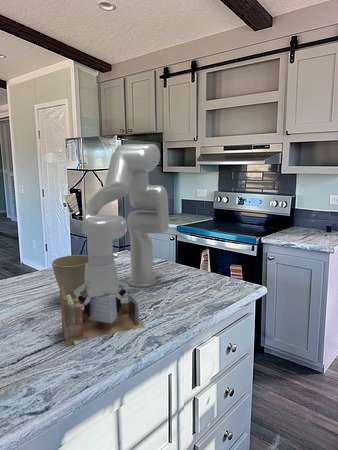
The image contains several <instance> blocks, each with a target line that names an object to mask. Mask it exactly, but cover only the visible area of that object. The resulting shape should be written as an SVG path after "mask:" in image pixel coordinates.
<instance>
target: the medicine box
mask: <svg viewBox="0 0 338 450" xmlns="http://www.w3.org/2000/svg"><path fill="white" fill-rule="evenodd" d="M89 305H90V317H89V320H92V321H99V322H105V323H112V322H113V321H114V320H115V319H116V318H117V302H116V294H111V295H105V296H99V297H92V298H91V299H90V301H89Z"/></svg>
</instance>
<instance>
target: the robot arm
mask: <svg viewBox="0 0 338 450" xmlns="http://www.w3.org/2000/svg"><path fill="white" fill-rule="evenodd" d="M160 159H161V152H160V149H159V147H158V145H156V144H154V143H146V144H145V143H140V144H139V143H138V144H137V143H130V144H129V143H128V144H121V145H120V144H119V145H118V146H117V147H115V150H114V151H113V152H112V154H111V157H110V161H109V165H108V169H107V173H106V178H105V182H104V185H103V186H102V187H101V188H100V189H99V190H97V191H96V192H95V193H94V194H93V196H92V197H91V198H90V199H89V200H88V202H87V204H86V206H85V209H84V213H83V218H82V225H81V228H82V233H83V234H84V236H86V242H87V243H86V245H87V247H86V248H87V256H88V263H87V264H86V266H85V275H84V284H83V285H81V286H80V287H78V288H77V289H76V290H74V294H75V295H76V297H77V298H78V300H80V301H81V302H80V303H81V304H83V309H84V313H85V314H87V316H88V317H90V305H89V301H90V299H91V298H92V297H99V296H105V295H111V294H116V302H117V311H118V312H119V311H120V310H119V308H121V303H122V299H123V297H124V295H125V294H126V293H127V290H128V288H129V286H130V287H135V288H147V287H152V286H153V285H156V284H157V283H158V279H157V278H158V277H161V278H162V277H164V275H165V273H164V271H154V256H153V255H154V253H153V252H154V251H153V248H154V246H153V240H152V238H151V237H150V235H149V234H157V235H158V234H161V235H163V234H165V233H167V232H168V231H169V225H170V215H169V197H168V191H167V189H166V187H164V186H163V185H155V184H154V185H152V184H151V185H150V182H149V172H152V171H153V170H154V169H156V168H157V166H158V165H159V162H160V161H161V160H160ZM127 195H128V200H129V204H130V206H131V207H132V208H134V209H151V210H134V211H131V212H129V214H128V215H127V219H126V218H125V217H123V216H121V215H115V214H113V215H111V214H99V212H100V211H101V209H102V208H104V207H105V206H106V205H108V204H111V203H112V202H115V201H117V200H119V199H121V198H123V197H125V196H127ZM152 209H153V210H152ZM127 231H128V233H129V241H130V242H129V245H130V270H131V271H130V272H131V277H129V278H128V279H127V282H126V281H124V280H121V279H119V276H118V269H117V263H116V261H114V260H115V259H118V258H119V256H118V253H114V250H113V249H114V247H113V245H114V244H113V240H117V239H118V240H119V239H121V238H123V237H124V236H125V235H126V233H127ZM120 286H122V288H121V289H119V288H120ZM84 289H85V293H86V295H85V296H84V297H83V296H81V295H80V292H82V291H83V290H84Z"/></svg>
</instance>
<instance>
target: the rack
mask: <svg viewBox="0 0 338 450" xmlns="http://www.w3.org/2000/svg"><path fill="white" fill-rule="evenodd" d="M58 288H60V289H59V298H60V299H59V301H60V302H59V303H60V313H61V325H62V326H61V328H62V332H63V336H64V337H63V338H64V341H65V344H66V346H67V347H69V346H74V345H76V344H75V342H76V341H77V342H78V341H81V340H86V339H92V338H96V337H101V336H106V335H111V334H117V333H120V332H121V333H122V332H126V331H131V330H136V329H141V328H145V327H146V326H145V324H144V323H143V321H142V320H141V319H140V318H139V325H135V324H134V322H133V321H132V319H131V318H130V317H129V310H128V301H126V302H125V301H124V302H121V308H119V310H120V311H119V312H118V311H117V318H116V319H115V320H114V321H113V322H112V323H105V322H99V321H92V320H89V317H88V316H87V314H85V313H84V308H83V307H82V305H81V304H82V303H81V302H80V301H79V300H78V298H71V295H66V293H65V290H64V287H63V286H58Z"/></svg>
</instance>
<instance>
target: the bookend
mask: <svg viewBox="0 0 338 450" xmlns="http://www.w3.org/2000/svg"><path fill="white" fill-rule="evenodd" d="M127 299H128V300H127V302H128V310H129V317H130V318H131V319H132V321H133V322H134V324H135V325H139V319H140V318H139V303H138V302H137V301H136V300H135V299H134V296H132V295H127Z"/></svg>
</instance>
